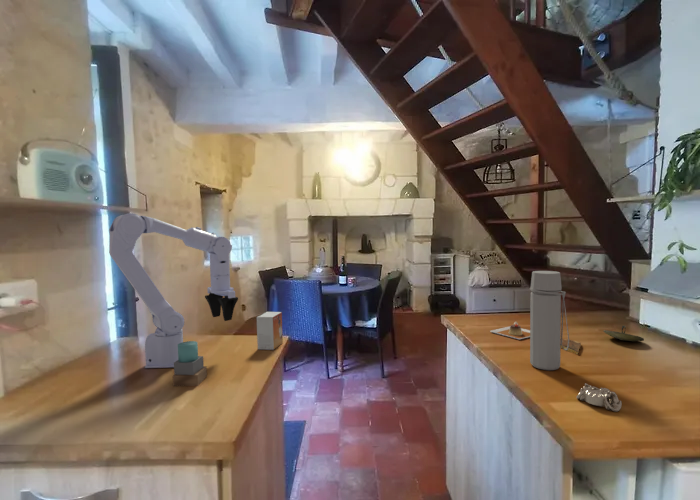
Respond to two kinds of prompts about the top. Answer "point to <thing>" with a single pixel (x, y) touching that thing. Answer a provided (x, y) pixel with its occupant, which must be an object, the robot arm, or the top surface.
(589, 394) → the ornament
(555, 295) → the water bottle
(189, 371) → the top block
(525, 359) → the top surface
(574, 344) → the shard
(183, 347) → the teal rounded piece
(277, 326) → the small box
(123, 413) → the top surface
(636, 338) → the lid
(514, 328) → the dessert
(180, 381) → the base block
